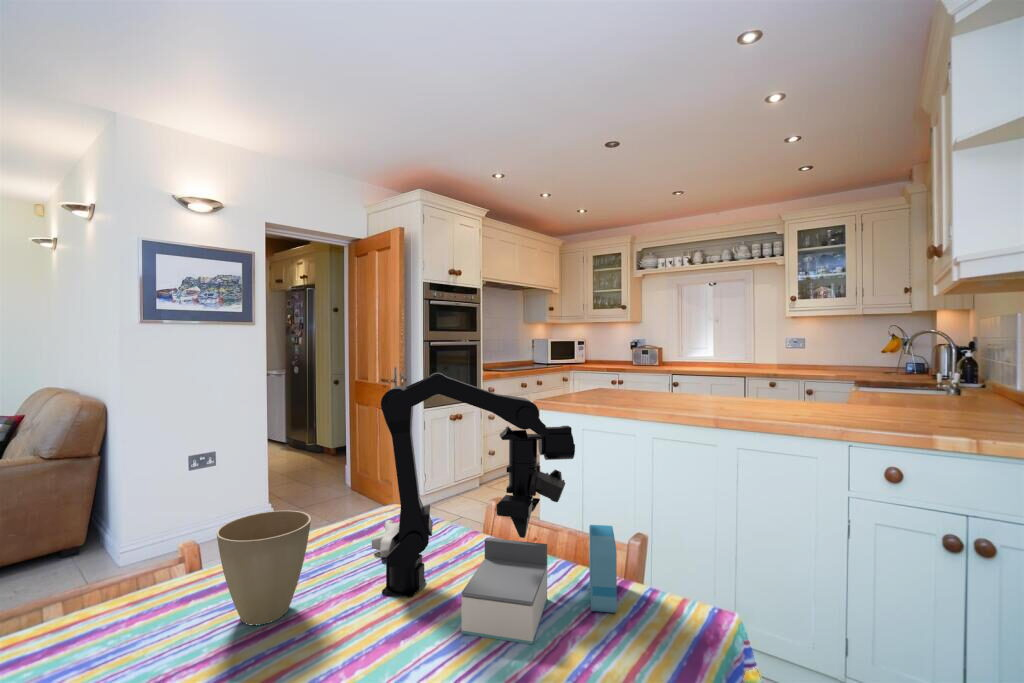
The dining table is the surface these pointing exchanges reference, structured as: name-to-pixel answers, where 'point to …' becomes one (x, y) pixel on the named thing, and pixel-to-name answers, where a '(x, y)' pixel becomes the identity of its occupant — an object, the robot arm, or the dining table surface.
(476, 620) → the box
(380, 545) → the bunny figurine
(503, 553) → the lid
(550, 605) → the dining table surface
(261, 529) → the plant pot
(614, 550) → the data package
